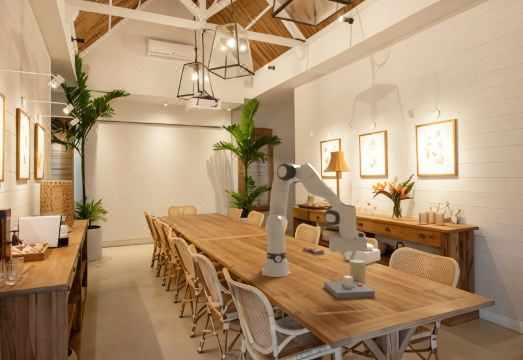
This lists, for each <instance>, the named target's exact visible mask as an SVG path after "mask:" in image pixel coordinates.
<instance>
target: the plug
mask: <svg viewBox="0 0 523 360" xmlns="http://www.w3.org/2000/svg"><path fill="white" fill-rule="evenodd" d="M342 277H343V279H342V281H343V287H345V288H353V277H351V275H343V276H342Z"/></svg>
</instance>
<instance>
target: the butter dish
mask: <svg viewBox="0 0 523 360" xmlns="http://www.w3.org/2000/svg"><path fill="white" fill-rule="evenodd" d="M351 255H352V251H346V252H345V256H346V260H345V261H350V260H351V259H350V256H351ZM355 259H357V260H364V261H365V262H366V265H369V264H372V263H374V262H378V261H381V249H378V248H375V245H373V244H371V243H368V242H367V250H366V251H356V254H355V256H354V260H355Z"/></svg>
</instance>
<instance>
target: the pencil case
mask: <svg viewBox="0 0 523 360" xmlns="http://www.w3.org/2000/svg"><path fill="white" fill-rule="evenodd" d="M302 252H304V253H308V254H312V255H316V256H321V255H325V250H323V249H320V248H314V247H304V248H303V249H302Z"/></svg>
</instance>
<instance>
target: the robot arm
mask: <svg viewBox="0 0 523 360" xmlns="http://www.w3.org/2000/svg"><path fill="white" fill-rule="evenodd" d="M296 183H301V184H302V185H303V188H304V189H305V190H306V192H308V193H309V194H310V195H313V196H316V197H318V198H319V197H320V198H322V199H324V200H325V201H327V203H328V204H329V205H330V206H331V208H330V209H329V208H328V209H327V210H325V212H324V215H323V220H324V222H325V224H326V225H327V226H329V227H338V228H339V229H338V230H339V233H332V234H331V235H329V237H328V241H329V246H328V250H329V251H330V252H331V253H340V255H341V257H342V259H341V260H342V261H347V260H346V255H345V253H346V251H352V255H351V256H350V259H351V260H354V256H355V254H356V251H366V250H367V243H368V242H367V241H368V240H367V238H366V233H364V232H363V231H359V230H357V225H356V224H357V210H356V206H355V205H354V204H352V203H349V202H342V201H341V199H340V198H339V197H338V195H337V194H336V193H335V191H333V189H332V188H331V187H330V186H329V185H328V184H327V183H326V182H325V181H324V179H322V177H321V175H320V174H319V173H318V171H317V170H316V169H315V168H314V167H313V166H312V164H310V163H303V164H300V165H299V164H296V163H288V162H287V163H281V164H280V165H278V167H277V169H276V174H275V175H274V177H273V180H272V183H271V184H272V185H271V190H270V199H269V215H268V217H266V220H265V221H266V222H265V224H266V225H265V227H266V237H267V239H266V240H267V253H266V260H265V262H263V263H262V267H263V268H262V270H261V276H267V277H270V278H271V277H272V278H282V277H283V278H284V277H286V276H288V275H292V272H291V271H290V270H289V260H288V259H287V252H286V237H285V225H286V221H287V211H288V202H289V194H290V193H289V192H290V186H291V184H296Z"/></svg>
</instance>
